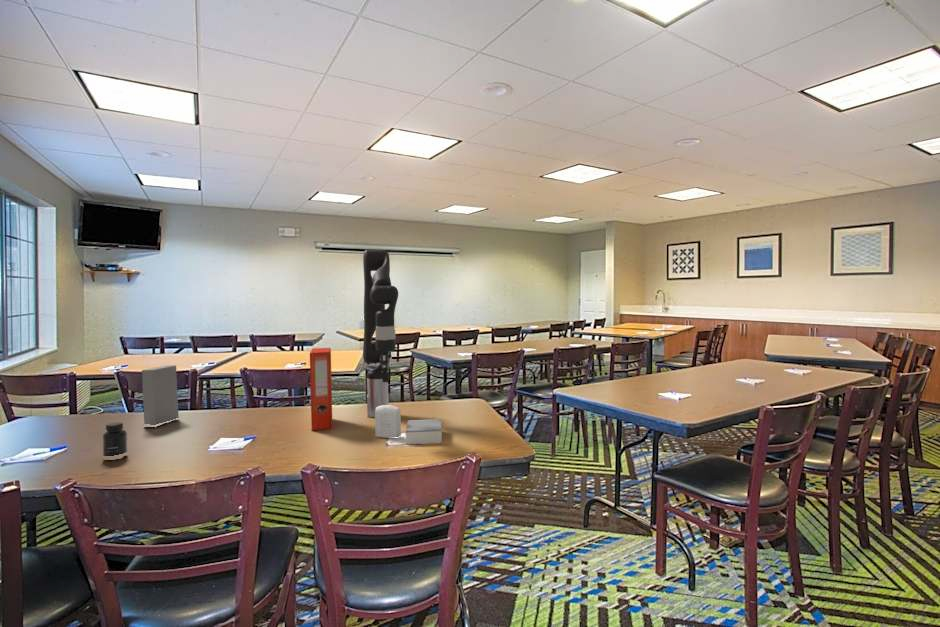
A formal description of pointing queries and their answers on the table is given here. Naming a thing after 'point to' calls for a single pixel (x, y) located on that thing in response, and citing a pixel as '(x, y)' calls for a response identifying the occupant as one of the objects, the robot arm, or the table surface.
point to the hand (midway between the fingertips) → (386, 380)
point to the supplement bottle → (114, 440)
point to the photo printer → (387, 421)
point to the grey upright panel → (160, 394)
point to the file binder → (321, 388)
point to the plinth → (424, 431)
